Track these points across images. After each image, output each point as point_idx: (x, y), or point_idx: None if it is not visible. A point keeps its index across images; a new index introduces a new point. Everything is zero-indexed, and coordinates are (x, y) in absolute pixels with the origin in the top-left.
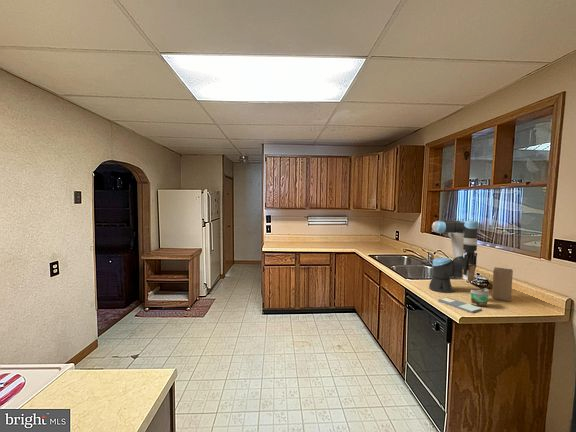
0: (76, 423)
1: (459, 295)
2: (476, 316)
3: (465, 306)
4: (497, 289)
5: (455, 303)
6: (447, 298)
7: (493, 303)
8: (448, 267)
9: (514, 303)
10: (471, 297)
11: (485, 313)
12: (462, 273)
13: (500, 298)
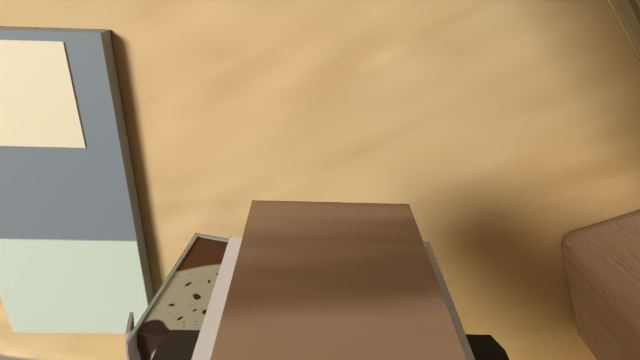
0: None
1: (376, 16)
2: (6, 355)
3: (45, 267)
4: (619, 335)
5: (18, 187)
6: (52, 62)
7: None
8: None
9: (568, 350)
10: (165, 281)
11: (126, 355)
12: (233, 277)
13: (571, 293)
